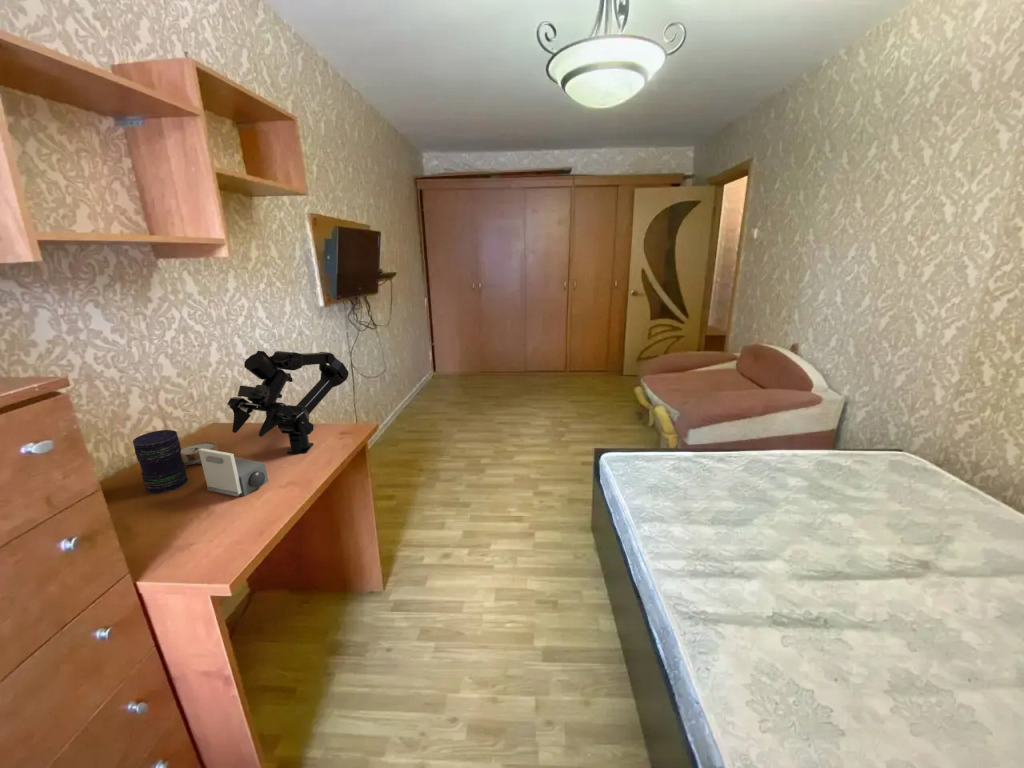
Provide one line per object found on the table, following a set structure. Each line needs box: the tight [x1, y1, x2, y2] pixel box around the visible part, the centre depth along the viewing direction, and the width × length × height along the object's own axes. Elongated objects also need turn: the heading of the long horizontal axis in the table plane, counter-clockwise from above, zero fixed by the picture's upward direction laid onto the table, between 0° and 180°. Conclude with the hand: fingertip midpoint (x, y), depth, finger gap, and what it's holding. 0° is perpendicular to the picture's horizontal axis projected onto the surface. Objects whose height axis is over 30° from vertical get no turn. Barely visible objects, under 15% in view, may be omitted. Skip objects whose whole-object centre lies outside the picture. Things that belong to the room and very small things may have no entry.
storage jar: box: [132, 429, 189, 495], centre depth 122 cm, size 10×10×15 cm
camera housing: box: [234, 457, 269, 497], centre depth 124 cm, size 8×13×6 cm, turn 73°
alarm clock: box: [180, 441, 219, 467], centre depth 138 cm, size 11×5×15 cm
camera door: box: [199, 448, 242, 497], centre depth 118 cm, size 2×11×12 cm, turn 73°
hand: (246, 434), depth 125 cm, fingers open, 9 cm apart
